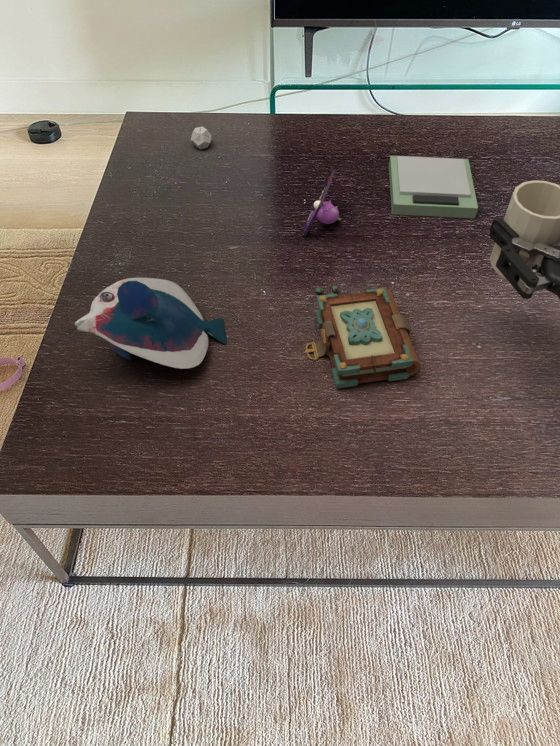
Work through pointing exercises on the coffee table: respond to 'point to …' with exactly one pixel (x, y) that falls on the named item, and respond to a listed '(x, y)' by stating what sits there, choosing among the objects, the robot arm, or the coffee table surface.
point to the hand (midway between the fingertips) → (520, 216)
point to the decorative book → (363, 337)
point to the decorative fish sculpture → (152, 322)
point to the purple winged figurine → (323, 208)
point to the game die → (201, 137)
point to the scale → (432, 187)
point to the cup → (533, 217)
